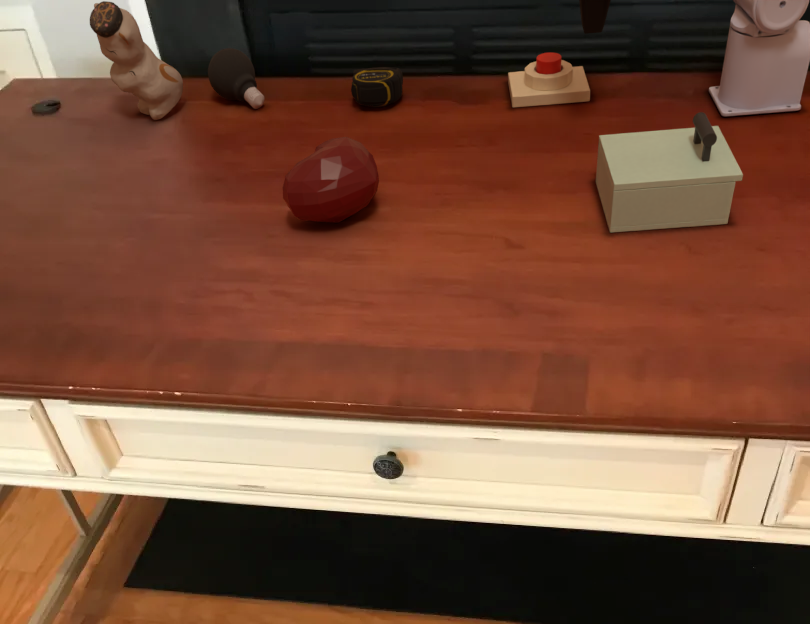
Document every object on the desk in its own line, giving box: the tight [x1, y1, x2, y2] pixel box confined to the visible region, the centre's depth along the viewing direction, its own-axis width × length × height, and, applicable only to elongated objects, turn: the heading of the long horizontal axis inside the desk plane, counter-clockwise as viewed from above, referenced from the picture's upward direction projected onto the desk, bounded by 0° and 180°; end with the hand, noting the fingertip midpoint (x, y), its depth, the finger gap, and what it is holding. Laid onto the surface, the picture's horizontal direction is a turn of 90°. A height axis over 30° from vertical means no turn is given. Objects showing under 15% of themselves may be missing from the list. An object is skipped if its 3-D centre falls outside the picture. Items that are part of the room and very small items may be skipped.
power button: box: [535, 52, 562, 75], centre depth 117 cm, size 3×3×2 cm
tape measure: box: [350, 66, 404, 108], centre depth 120 cm, size 7×7×4 cm
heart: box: [282, 136, 380, 224], centre depth 100 cm, size 12×8×10 cm
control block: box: [507, 59, 591, 109], centre depth 118 cm, size 10×8×3 cm
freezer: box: [595, 143, 737, 233], centre depth 96 cm, size 12×11×5 cm
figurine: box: [89, 0, 184, 121], centre depth 120 cm, size 9×10×15 cm
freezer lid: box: [598, 111, 744, 191], centre depth 93 cm, size 13×11×4 cm
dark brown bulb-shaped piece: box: [207, 47, 265, 110], centre depth 124 cm, size 6×6×10 cm
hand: (592, 31), depth 105 cm, fingers closed
